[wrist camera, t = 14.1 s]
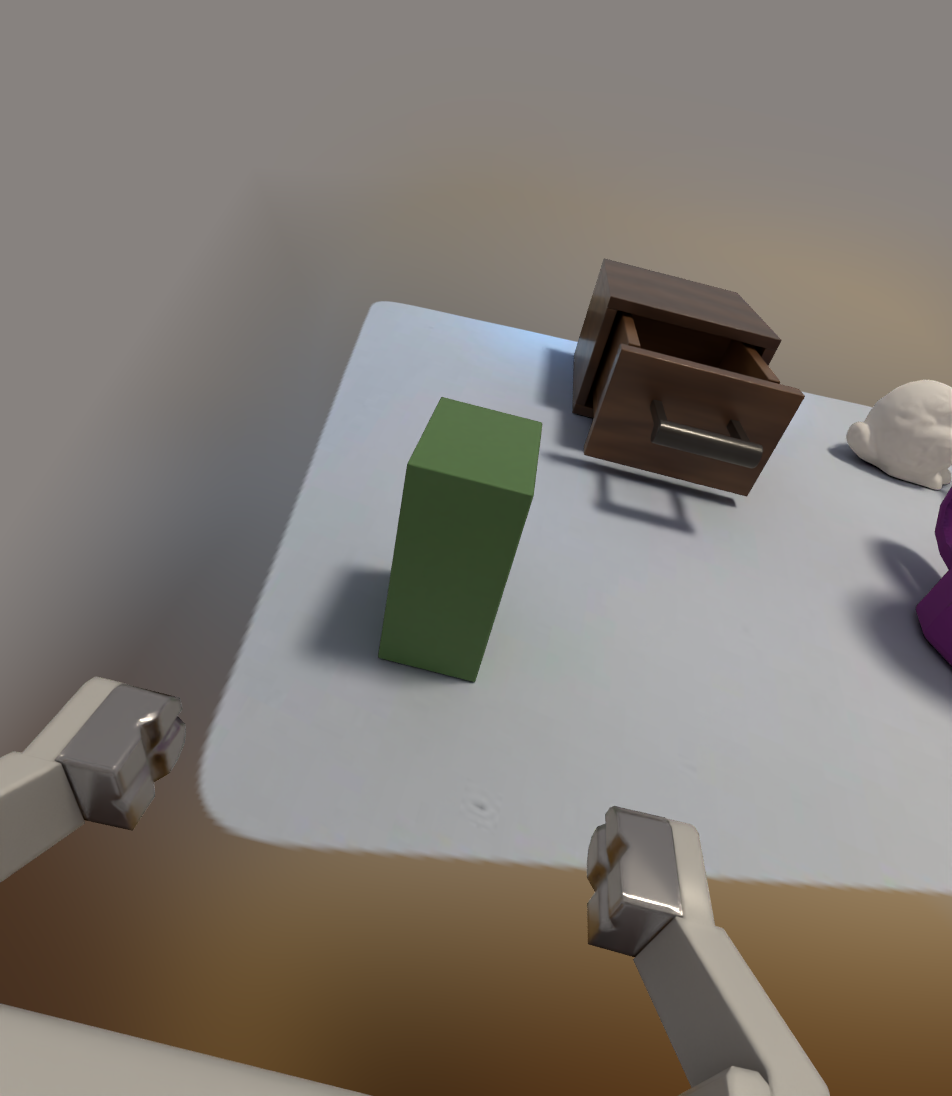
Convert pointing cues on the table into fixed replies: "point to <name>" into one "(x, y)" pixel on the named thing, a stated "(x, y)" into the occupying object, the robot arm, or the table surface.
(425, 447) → the block
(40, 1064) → the robot arm
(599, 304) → the cabinet
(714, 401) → the drawer
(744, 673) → the table surface
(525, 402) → the table surface
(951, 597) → the mug
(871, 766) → the table surface
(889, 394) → the rabbit
